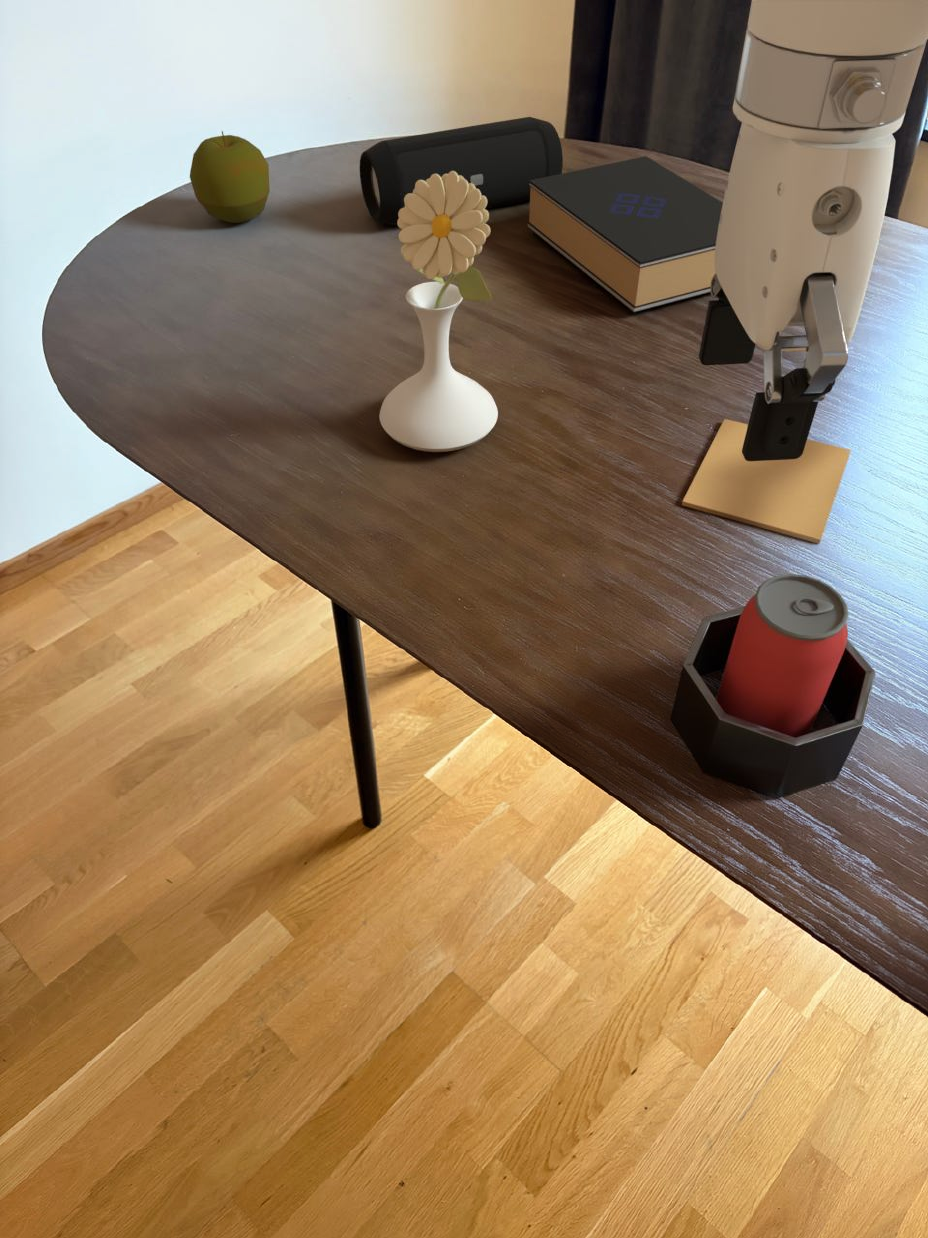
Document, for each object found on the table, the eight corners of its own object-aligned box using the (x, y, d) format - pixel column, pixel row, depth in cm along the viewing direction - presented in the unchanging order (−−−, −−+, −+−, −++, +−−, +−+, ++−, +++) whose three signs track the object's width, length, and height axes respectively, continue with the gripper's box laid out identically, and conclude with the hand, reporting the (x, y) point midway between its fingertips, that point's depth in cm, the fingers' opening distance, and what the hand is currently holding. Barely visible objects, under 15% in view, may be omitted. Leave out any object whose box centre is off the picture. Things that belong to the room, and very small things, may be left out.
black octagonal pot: (858, 693, 68) (884, 637, 63) (826, 819, 61) (853, 765, 56) (701, 642, 71) (716, 586, 67) (654, 755, 64) (667, 700, 60)
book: (639, 207, 126) (646, 155, 121) (757, 285, 110) (769, 230, 106) (526, 232, 121) (528, 179, 116) (633, 319, 105) (640, 262, 101)
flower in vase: (358, 422, 92) (329, 155, 74) (450, 382, 97) (444, 123, 79) (436, 487, 85) (425, 210, 67) (532, 441, 89) (546, 170, 71)
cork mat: (849, 454, 88) (851, 449, 87) (819, 544, 79) (820, 539, 79) (723, 422, 91) (724, 418, 91) (681, 505, 83) (682, 501, 82)
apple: (188, 230, 123) (168, 141, 115) (217, 200, 129) (200, 114, 121) (260, 237, 121) (245, 147, 113) (286, 206, 127) (273, 119, 120)
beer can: (817, 762, 64) (871, 644, 55) (720, 762, 64) (758, 643, 55) (795, 687, 68) (841, 567, 59) (704, 687, 68) (737, 567, 60)
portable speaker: (385, 241, 120) (379, 159, 112) (360, 211, 126) (353, 132, 119) (563, 206, 126) (568, 127, 119) (531, 180, 133) (534, 103, 126)
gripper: (994, 147, 36) (863, 497, 48) (840, 23, 48) (766, 328, 60) (802, 155, 36) (720, 504, 48) (695, 27, 48) (651, 334, 60)
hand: (746, 406), depth 54 cm, fingers open, 9 cm apart
